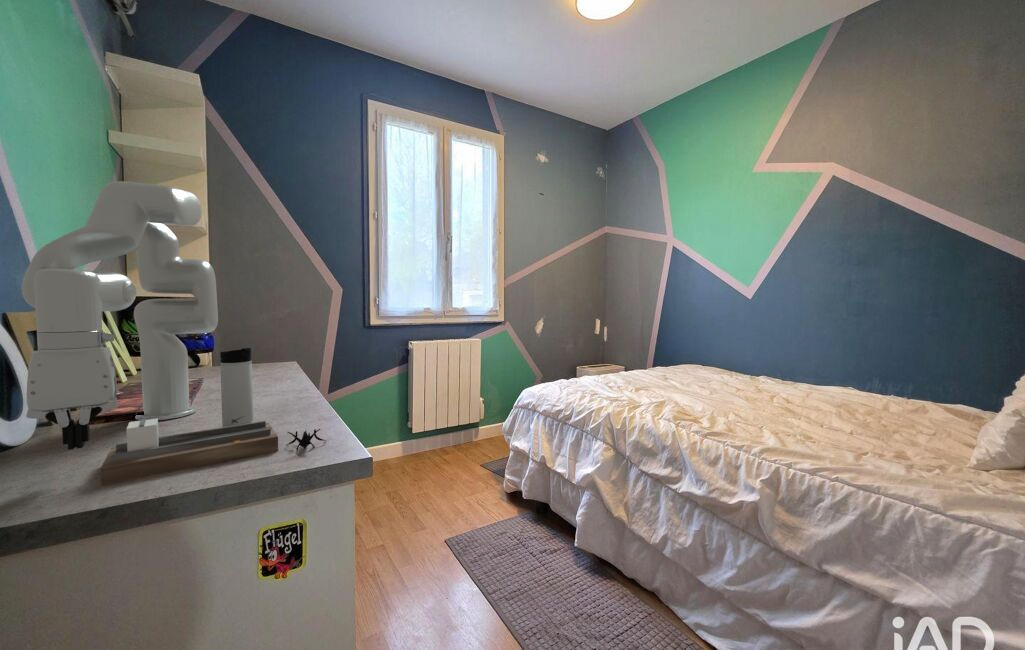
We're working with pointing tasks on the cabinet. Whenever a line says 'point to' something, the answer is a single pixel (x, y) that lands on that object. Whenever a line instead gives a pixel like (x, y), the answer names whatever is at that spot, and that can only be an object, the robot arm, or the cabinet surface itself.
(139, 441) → the fader tab
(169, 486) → the cabinet surface
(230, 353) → the travel mug
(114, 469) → the fader console
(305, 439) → the creature
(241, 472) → the cabinet surface
